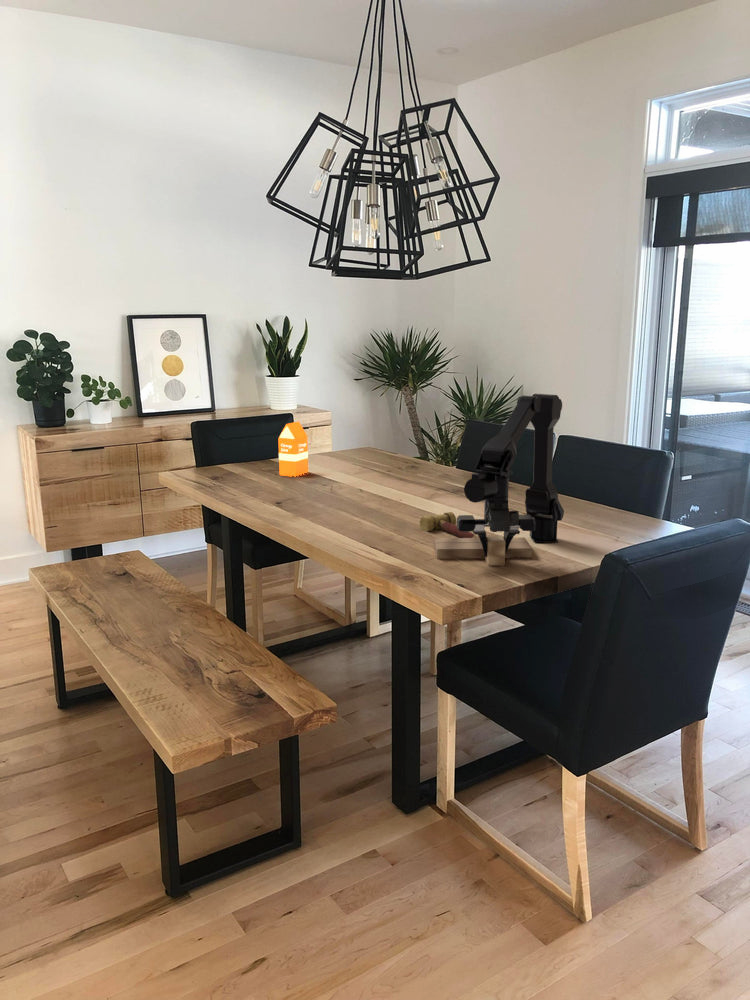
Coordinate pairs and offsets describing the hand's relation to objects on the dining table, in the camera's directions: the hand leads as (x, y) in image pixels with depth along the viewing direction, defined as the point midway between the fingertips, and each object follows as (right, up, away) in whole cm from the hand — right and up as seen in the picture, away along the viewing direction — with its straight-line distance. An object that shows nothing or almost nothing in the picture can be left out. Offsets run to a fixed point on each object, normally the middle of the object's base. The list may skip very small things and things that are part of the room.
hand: (494, 556), depth 201 cm
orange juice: (-61, +24, +113) cm, 131 cm away
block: (0, -1, +3) cm, 3 cm away
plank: (-2, 0, +9) cm, 9 cm away
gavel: (-7, +4, +26) cm, 27 cm away
